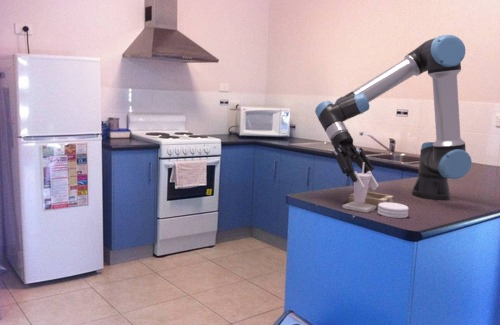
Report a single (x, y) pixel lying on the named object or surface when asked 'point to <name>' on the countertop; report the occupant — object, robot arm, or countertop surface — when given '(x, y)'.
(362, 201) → the smoothie
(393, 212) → the coaster
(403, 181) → the countertop surface
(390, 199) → the square wooden frame
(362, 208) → the tile
